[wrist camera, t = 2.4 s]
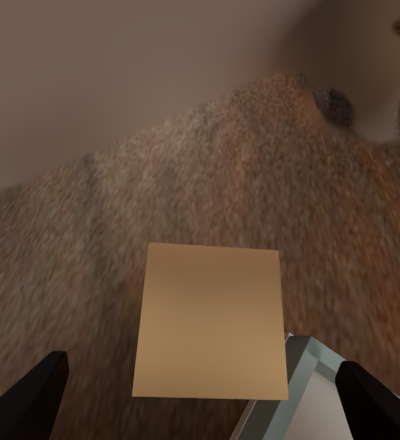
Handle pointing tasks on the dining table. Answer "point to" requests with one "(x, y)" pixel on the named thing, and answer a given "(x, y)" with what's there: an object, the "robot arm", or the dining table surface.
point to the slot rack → (300, 399)
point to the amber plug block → (211, 324)
